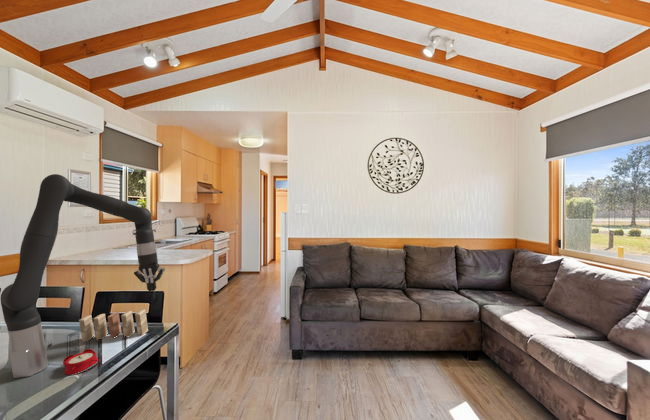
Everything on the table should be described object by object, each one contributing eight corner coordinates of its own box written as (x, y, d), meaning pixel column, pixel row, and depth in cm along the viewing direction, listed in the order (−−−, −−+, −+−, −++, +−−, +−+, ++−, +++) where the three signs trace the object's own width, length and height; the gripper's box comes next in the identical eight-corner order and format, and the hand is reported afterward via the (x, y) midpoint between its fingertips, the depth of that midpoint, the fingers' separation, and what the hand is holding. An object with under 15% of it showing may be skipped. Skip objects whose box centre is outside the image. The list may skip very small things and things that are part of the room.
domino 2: (108, 334, 151) (104, 313, 150) (101, 340, 146) (97, 318, 145) (103, 335, 151) (100, 314, 150) (96, 340, 146) (93, 318, 145)
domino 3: (134, 331, 151) (131, 310, 150) (128, 337, 146) (125, 315, 145) (130, 332, 151) (127, 311, 150) (124, 337, 146) (121, 315, 145)
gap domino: (110, 338, 146) (107, 317, 145) (117, 333, 151) (114, 312, 150) (115, 338, 146) (112, 316, 145) (121, 333, 151) (118, 312, 150)
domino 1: (94, 336, 150) (91, 315, 150) (87, 341, 145) (83, 319, 145) (90, 336, 150) (86, 315, 150) (82, 341, 145) (79, 320, 145)
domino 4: (148, 330, 151) (145, 309, 151) (142, 335, 146) (139, 313, 146) (143, 331, 151) (140, 309, 150) (138, 336, 146) (135, 314, 145)
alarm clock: (66, 370, 114) (58, 349, 124) (68, 385, 116) (60, 363, 126) (101, 357, 122) (91, 338, 132) (103, 371, 123) (92, 351, 133)
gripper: (126, 255, 142) (132, 295, 144) (158, 252, 143) (163, 291, 144) (135, 252, 150) (141, 289, 151) (166, 249, 150) (170, 286, 151)
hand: (152, 290), depth 147 cm, fingers closed
